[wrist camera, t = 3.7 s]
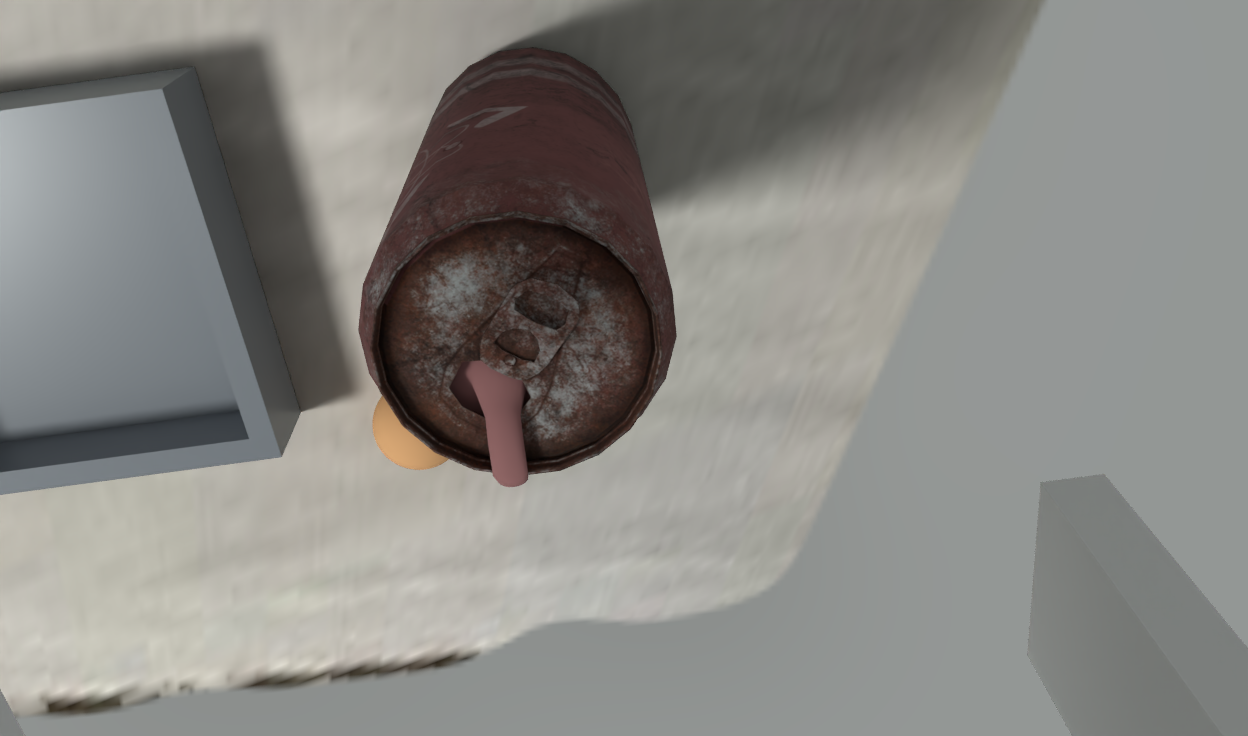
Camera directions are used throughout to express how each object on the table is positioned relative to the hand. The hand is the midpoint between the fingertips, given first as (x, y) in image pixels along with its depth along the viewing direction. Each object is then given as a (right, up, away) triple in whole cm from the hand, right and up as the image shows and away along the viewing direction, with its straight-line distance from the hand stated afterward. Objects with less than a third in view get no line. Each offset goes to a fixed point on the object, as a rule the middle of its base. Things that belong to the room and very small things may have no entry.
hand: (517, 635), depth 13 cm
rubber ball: (-5, +1, +21) cm, 22 cm away
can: (-1, +10, +19) cm, 22 cm away
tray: (-16, +6, +20) cm, 26 cm away
